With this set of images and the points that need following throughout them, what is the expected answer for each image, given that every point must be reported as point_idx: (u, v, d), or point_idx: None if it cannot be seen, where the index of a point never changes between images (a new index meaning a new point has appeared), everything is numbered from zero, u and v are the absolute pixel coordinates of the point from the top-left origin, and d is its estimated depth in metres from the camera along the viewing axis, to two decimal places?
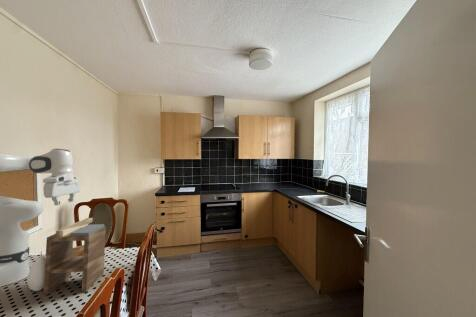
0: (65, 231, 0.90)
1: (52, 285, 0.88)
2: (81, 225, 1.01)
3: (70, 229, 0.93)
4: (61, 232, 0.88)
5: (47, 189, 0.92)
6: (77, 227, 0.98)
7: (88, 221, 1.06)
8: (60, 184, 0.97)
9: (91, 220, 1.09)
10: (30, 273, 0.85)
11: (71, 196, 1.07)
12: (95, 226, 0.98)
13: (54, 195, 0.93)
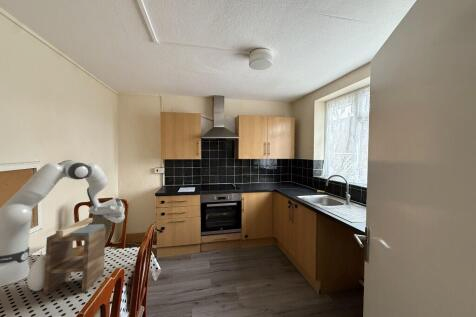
0: (65, 231, 0.90)
1: (52, 285, 0.88)
2: (81, 225, 1.01)
3: (70, 229, 0.93)
4: (61, 232, 0.88)
5: (122, 210, 1.30)
6: (77, 227, 0.98)
7: (88, 221, 1.06)
8: (115, 214, 1.29)
9: (91, 220, 1.09)
10: (30, 273, 0.85)
11: None
12: (95, 226, 0.98)
13: (118, 211, 1.26)
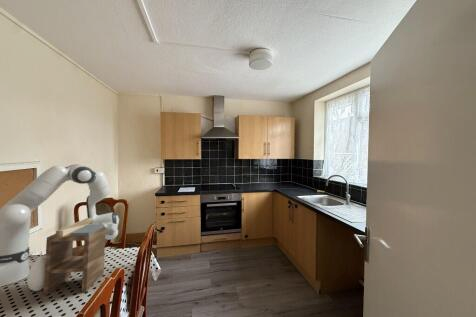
0: (65, 231, 0.90)
1: (52, 285, 0.88)
2: (81, 225, 1.01)
3: (70, 229, 0.93)
4: (61, 232, 0.88)
5: (115, 227, 1.21)
6: (77, 227, 0.98)
7: (88, 221, 1.06)
8: (107, 231, 1.21)
9: (91, 220, 1.09)
10: (30, 273, 0.85)
11: (85, 225, 1.14)
12: (95, 226, 0.98)
13: (110, 229, 1.17)
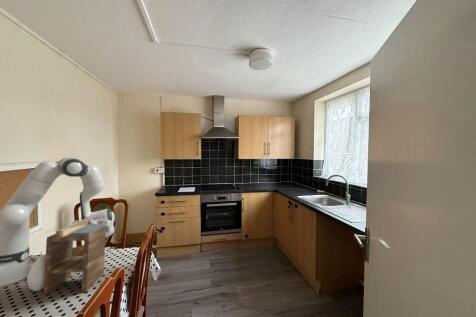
0: (65, 231, 0.90)
1: (52, 285, 0.88)
2: (81, 225, 1.01)
3: (70, 229, 0.93)
4: (61, 232, 0.88)
5: (110, 224, 1.15)
6: (77, 227, 0.98)
7: None
8: None
9: None
10: (30, 273, 0.85)
11: None
12: (95, 226, 0.98)
13: (105, 226, 1.11)
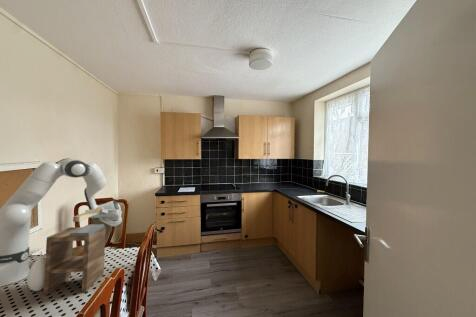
0: (81, 217, 1.00)
1: (52, 285, 0.88)
2: (94, 213, 1.11)
3: (85, 216, 1.03)
4: (78, 218, 0.98)
5: (120, 213, 1.25)
6: (91, 214, 1.08)
7: None
8: (112, 217, 1.25)
9: None
10: (30, 273, 0.85)
11: None
12: (95, 226, 0.98)
13: (115, 215, 1.21)
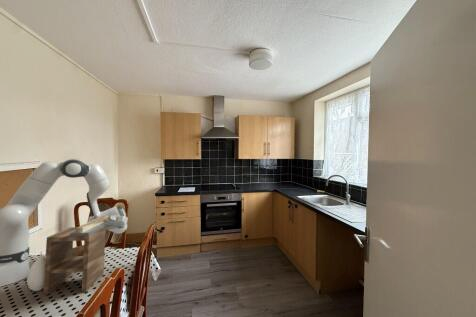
0: (84, 228, 0.90)
1: (52, 285, 0.88)
2: (98, 222, 1.01)
3: (89, 226, 0.93)
4: (81, 229, 0.88)
5: (125, 220, 1.15)
6: (95, 224, 0.98)
7: (104, 219, 1.07)
8: (117, 224, 1.15)
9: (107, 218, 1.09)
10: (30, 273, 0.85)
11: None
12: (95, 226, 0.98)
13: (120, 222, 1.11)
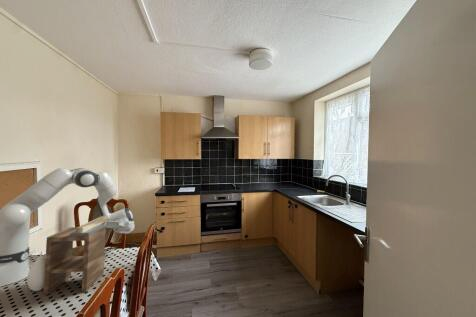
0: (84, 228, 0.90)
1: (52, 285, 0.88)
2: (98, 222, 1.01)
3: (89, 226, 0.93)
4: (81, 229, 0.88)
5: (132, 225, 1.26)
6: (95, 224, 0.98)
7: (104, 219, 1.07)
8: (124, 228, 1.26)
9: (107, 218, 1.09)
10: (30, 273, 0.85)
11: None
12: (95, 226, 0.98)
13: (127, 227, 1.22)
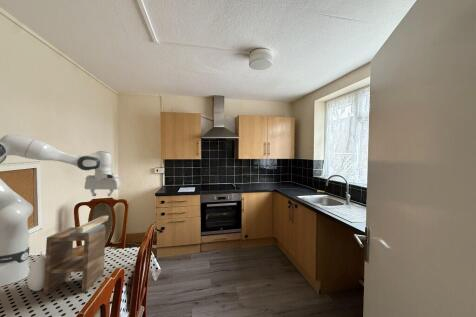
0: (84, 228, 0.90)
1: (52, 285, 0.88)
2: (98, 222, 1.01)
3: (89, 226, 0.93)
4: (81, 229, 0.88)
5: (118, 183, 1.25)
6: (95, 224, 0.98)
7: (104, 219, 1.07)
8: None
9: (107, 218, 1.09)
10: (30, 273, 0.85)
11: (93, 191, 1.23)
12: (95, 226, 0.98)
13: None
